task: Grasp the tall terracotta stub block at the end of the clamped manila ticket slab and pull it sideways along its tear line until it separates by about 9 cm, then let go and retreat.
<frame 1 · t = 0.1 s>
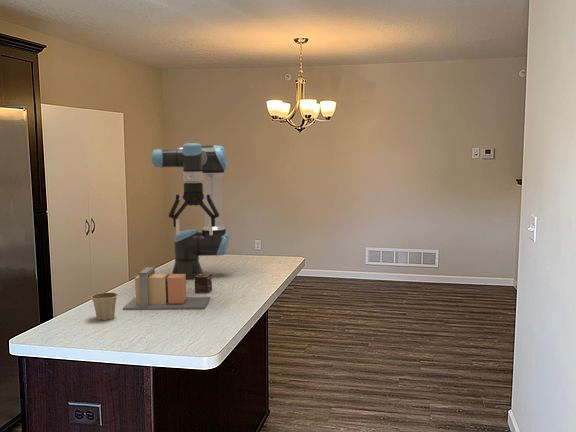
hand: (194, 234, 224), 28 cm above the worktop, fingers open, 13 cm apart
stub: (176, 288, 224), point 6 cm above the worktop, slide at 0.0 cm
flower pot: (105, 318, 206), on the worktop
holder: (163, 304, 224), on the worktop
box: (203, 292, 245), on the worktop
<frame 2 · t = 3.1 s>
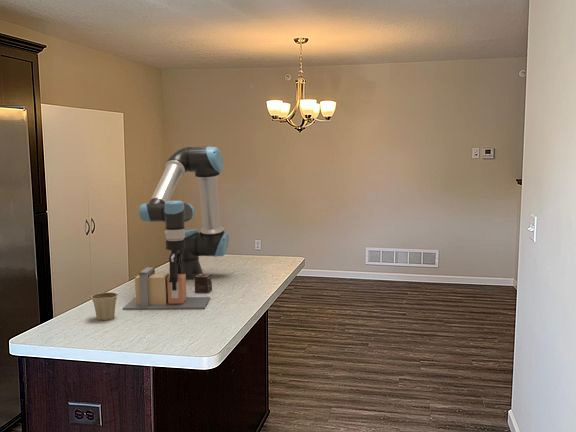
hand: (177, 295, 224), 4 cm above the worktop, fingers closed on stub, 7 cm apart
stub: (176, 288, 224), point 6 cm above the worktop, slide at 0.0 cm, touching gripper
everything else where it was.
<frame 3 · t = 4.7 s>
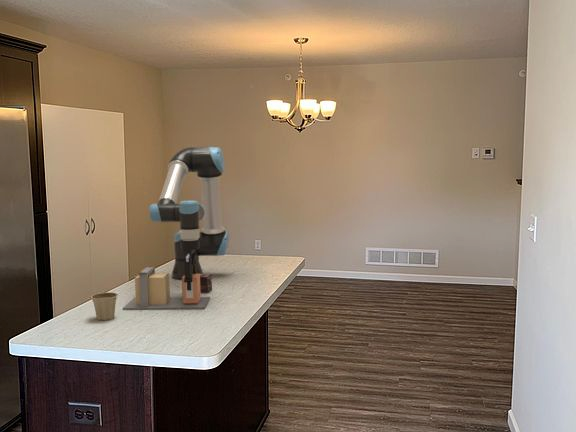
hand: (191, 295, 224), 4 cm above the worktop, fingers closed on stub, 7 cm apart
stub: (191, 288, 223), point 6 cm above the worktop, slide at 5.9 cm, touching gripper
everything else where it was.
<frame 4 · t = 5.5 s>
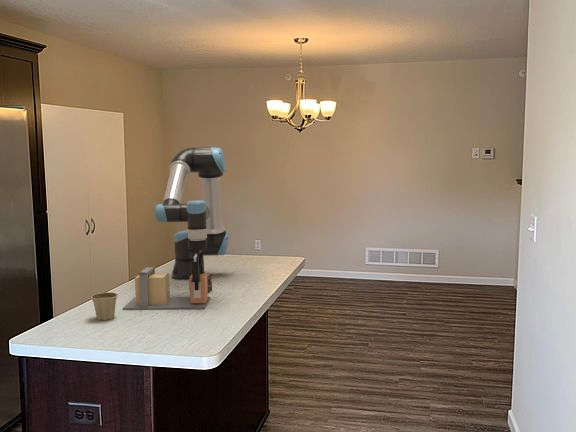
hand: (199, 295, 224), 4 cm above the worktop, fingers closed on stub, 7 cm apart
stub: (198, 288, 223), point 6 cm above the worktop, slide at 8.8 cm, touching gripper
everything else where it was.
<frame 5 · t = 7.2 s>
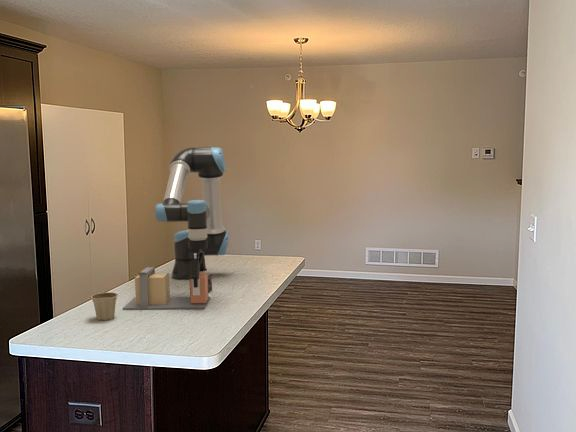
hand: (199, 291, 224), 5 cm above the worktop, fingers open, 13 cm apart
stub: (199, 288, 223), point 6 cm above the worktop, slide at 9.0 cm
everything else where it was.
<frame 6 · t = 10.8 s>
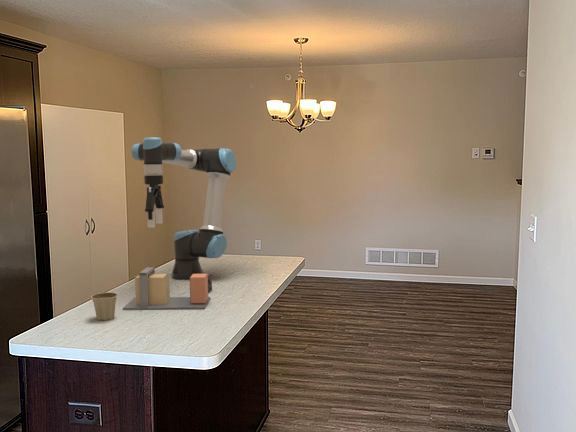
hand: (155, 225, 233), 31 cm above the worktop, fingers open, 13 cm apart
nothing on the worktop moved.
at the end: stub slide at 9.0 cm; the gripper is holding nothing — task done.
